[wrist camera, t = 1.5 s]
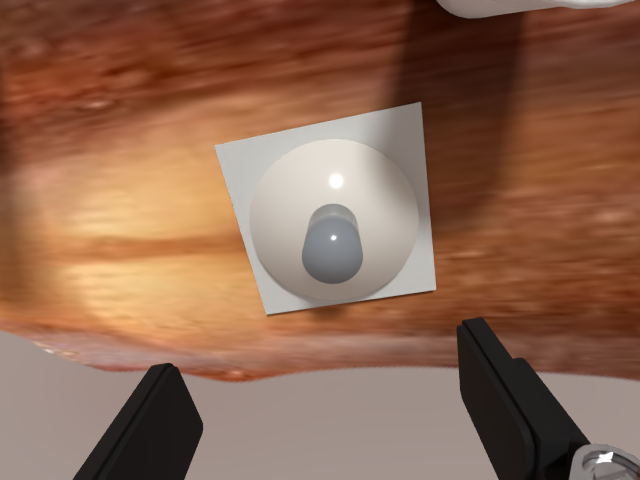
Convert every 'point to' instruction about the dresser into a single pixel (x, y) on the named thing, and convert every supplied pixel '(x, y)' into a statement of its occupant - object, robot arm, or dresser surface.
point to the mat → (370, 128)
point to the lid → (334, 219)
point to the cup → (516, 6)
